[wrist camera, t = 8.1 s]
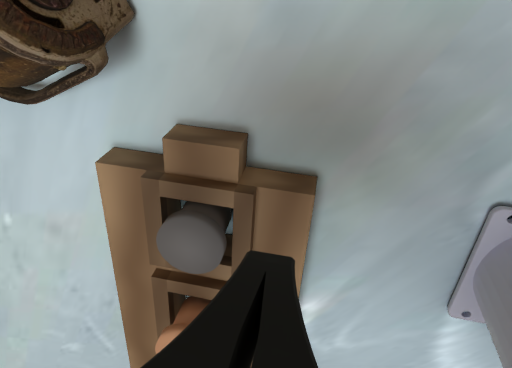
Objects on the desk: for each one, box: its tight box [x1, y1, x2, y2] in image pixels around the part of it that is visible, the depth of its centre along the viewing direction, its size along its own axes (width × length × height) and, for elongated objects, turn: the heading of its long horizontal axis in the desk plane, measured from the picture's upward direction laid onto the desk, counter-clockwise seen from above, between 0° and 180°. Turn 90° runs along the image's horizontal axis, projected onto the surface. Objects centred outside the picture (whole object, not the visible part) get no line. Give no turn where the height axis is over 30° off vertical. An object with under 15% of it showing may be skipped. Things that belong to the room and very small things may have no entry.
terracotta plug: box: [155, 296, 211, 354], centre depth 24 cm, size 4×4×3 cm
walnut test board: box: [95, 124, 317, 368], centre depth 26 cm, size 12×24×3 cm, turn 177°
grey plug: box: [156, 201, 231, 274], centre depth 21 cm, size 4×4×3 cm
